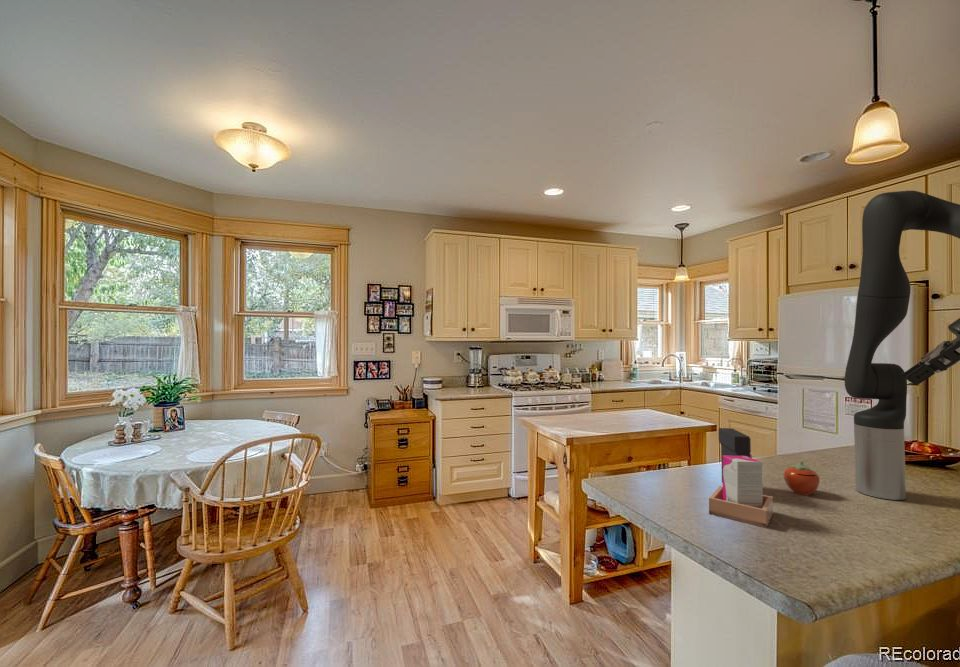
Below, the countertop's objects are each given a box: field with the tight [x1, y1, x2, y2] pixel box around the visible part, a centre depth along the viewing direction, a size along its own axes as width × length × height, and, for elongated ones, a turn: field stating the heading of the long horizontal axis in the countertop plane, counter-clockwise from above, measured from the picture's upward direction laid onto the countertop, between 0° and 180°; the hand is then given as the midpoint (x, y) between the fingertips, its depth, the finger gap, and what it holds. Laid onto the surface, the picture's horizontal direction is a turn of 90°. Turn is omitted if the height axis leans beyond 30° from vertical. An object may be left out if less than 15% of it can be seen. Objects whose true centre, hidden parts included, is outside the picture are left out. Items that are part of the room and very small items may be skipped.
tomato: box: [782, 460, 821, 496], centre depth 106 cm, size 7×7×8 cm
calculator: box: [718, 427, 753, 484], centre depth 108 cm, size 11×4×15 cm, turn 168°
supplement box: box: [722, 455, 764, 509], centre depth 93 cm, size 6×6×12 cm
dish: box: [708, 485, 774, 529], centre depth 92 cm, size 11×11×4 cm
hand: (907, 380), depth 84 cm, fingers open, 8 cm apart
